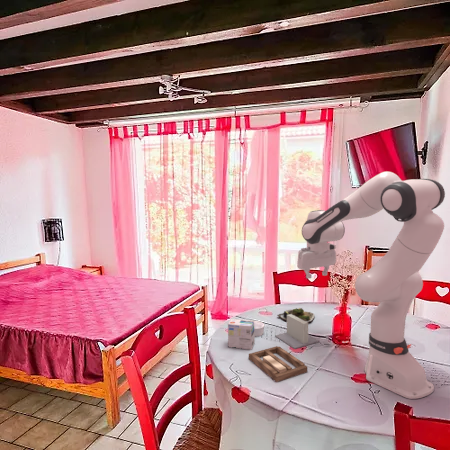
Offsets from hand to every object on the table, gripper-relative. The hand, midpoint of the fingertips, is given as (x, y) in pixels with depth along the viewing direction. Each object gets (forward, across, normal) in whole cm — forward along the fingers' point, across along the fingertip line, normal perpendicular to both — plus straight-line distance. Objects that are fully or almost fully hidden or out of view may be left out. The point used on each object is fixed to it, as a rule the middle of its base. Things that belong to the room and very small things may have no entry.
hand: (316, 276), depth 152 cm
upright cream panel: (+28, -9, +3) cm, 29 cm away
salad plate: (+28, +7, +23) cm, 37 cm away
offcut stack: (+29, -34, -13) cm, 46 cm away
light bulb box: (+28, -34, +10) cm, 45 cm away
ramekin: (+28, -22, +18) cm, 40 cm away
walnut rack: (+28, -31, -10) cm, 43 cm away
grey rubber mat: (+28, -9, +3) cm, 30 cm away
